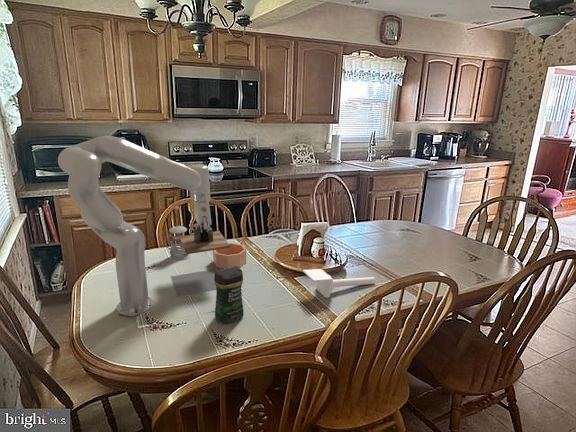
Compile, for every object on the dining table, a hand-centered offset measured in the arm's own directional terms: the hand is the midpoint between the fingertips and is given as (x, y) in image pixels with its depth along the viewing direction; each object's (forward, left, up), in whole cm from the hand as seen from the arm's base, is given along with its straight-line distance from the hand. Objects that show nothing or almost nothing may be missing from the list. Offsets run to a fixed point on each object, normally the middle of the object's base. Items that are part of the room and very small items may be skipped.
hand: (203, 239), depth 157 cm
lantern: (+26, +7, -18) cm, 32 cm away
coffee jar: (-32, -2, -18) cm, 37 cm away
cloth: (0, 0, -2) cm, 2 cm away
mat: (-3, +4, -18) cm, 19 cm away
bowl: (+11, -14, -18) cm, 25 cm away
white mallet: (-30, -49, -18) cm, 60 cm away
